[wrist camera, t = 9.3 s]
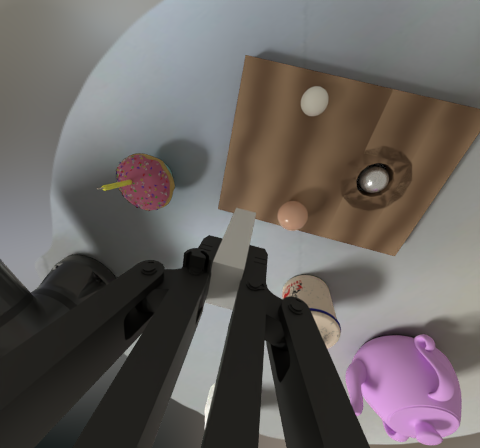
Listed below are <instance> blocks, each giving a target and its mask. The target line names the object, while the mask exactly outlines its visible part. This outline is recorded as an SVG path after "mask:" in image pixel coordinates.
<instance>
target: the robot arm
mask: <svg viewBox="0 0 480 448" xmlns="http://www.w3.org/2000/svg"><path fill="white" fill-rule="evenodd" d="M255 217H256V213H255V212H251V211H247V210H243V209H239V208H236V209H235V212H234V214H233V216H232V219H231V221H230V223H229V226H228V228H227V230H226V232H225V235H224V237H223V239H222V238H218V237H214V236H210V235H209V236H207V237H206V238H204V239H203V241H202V242H201V244H200V246H199V247H198V248H193V249H189V250H187V251H186V252H185V253H184V260H183V267H182V268H181V269H174V270H171V269H164V266H163V264H161V263H160V262H158V261H154V260H147V261H143V262H140V263H138V264H137V265H135V266H134V267H132V268H131V269H129V270H128V271H127V272H125V273H124V274H122V275H121V276H119V277H118V278H115V276H114V275H113V274H112V273H111V271H110V270H109V269H107V268H106V267H105V266H104V265H102V264H101V263H99V262H98V261H96V260H94V259H92V258H89V257H86V256H82V255H71V256H68V257H66V258H64V259H63V260H61V261H60V262H58V263H57V264H56V265H55V266H54V267H53V268H52V270H51V271H50V273H49V274H48V275H47V276H46V278H45V279H44V280H43V281H42V283H41V284H40V285H39V287H38V288H37V289H35V290H34V291H33V292H31V293H30V292H29V291H28V290H27V288H26V287H25V286H24V285H23V284H22V283H21V282H20V281H19V280H18V279H17V278H16V276H15V275H14V274H13V273H12V272H11V271H10V270H9V269H8V267H7V266H6V265H5V264H4V263H3V262H2V261H1V259H0V448H34V447H35V446H36V445H37V444H38V443H39V442H40V441H41V440H42V439H43V438H44V436H45V435H46V434H47V433H48V432H49V431H50V430H51V429H52V428H53V427H54V426H55V425H56V424H57V423H58V422H59V421H60V420H61V419H62V417H63V416H64V415H65V414H66V413H67V412H68V411H69V410H70V409H71V408H72V407H73V406H74V405H75V404H76V403H77V402H78V401H79V399H80V398H81V397H82V396H83V395H84V394H85V393H86V392H87V391H88V390H89V389H90V388H91V387H92V385H94V384H95V382H96V381H97V380H98V379H99V378H100V377H101V376H102V375H103V374H104V373H105V372H106V371H107V370H108V369H109V368H110V367H111V366H112V365H113V364H114V362H115V361H116V360H117V359H118V358H119V357H120V356H121V355H122V354H123V353H124V352H125V351H126V350H127V349H128V348H129V347H130V346H131V344H132V343H133V342H134V341H135V340H136V339H137V338H138V337H139V336H140V335H141V334H142V335H141V336H140V338H139V339H138V341H137V343H136V344H135V346H134V348H133V349H132V351H131V353H130V354H129V356H128V357H127V359H126V361H125V363H124V364H123V366H122V367H121V369H120V371H119V372H118V374H117V376H116V377H115V379H114V380H113V382H112V384H111V386H110V387H109V389H108V390H107V392H106V394H105V395H104V397H103V398H102V400H101V402H100V404H99V405H98V407H97V408H96V410H95V412H94V413H93V415H92V417H91V418H90V420H89V421H88V423H87V425H86V426H85V428H84V430H83V431H82V433H81V435H80V436H79V438H78V439H77V441H76V443H75V445H74V446H73V448H152V446H153V443H154V440H155V437H156V435H157V432H158V430H159V427H160V424H161V422H162V419H163V416H164V414H165V411H166V408H167V406H168V403H169V400H170V397H171V395H172V392H173V389H174V387H175V384H176V381H177V379H178V376H179V373H180V371H181V368H182V365H183V363H184V360H185V357H186V355H187V352H188V349H189V347H190V344H191V341H192V339H193V336H194V333H195V331H196V328H197V325H198V322H199V320H200V317H201V314H202V312H203V307H204V303H208V304H212V305H216V306H219V307H223V308H227V309H231V310H233V312H232V315H231V319H230V323H229V326H228V332H227V336H226V341H225V345H224V349H223V354H222V358H221V362H220V367H219V371H218V375H217V380H216V384H215V388H214V392H213V397H212V401H211V405H210V410H209V414H208V418H207V423H206V427H205V431H204V436H203V440H202V444H201V448H258V439H259V423H260V406H261V390H262V373H263V357H264V340H266V344H267V349H268V354H269V360H270V365H271V370H272V375H273V380H274V385H275V390H276V396H277V401H278V406H279V411H280V416H281V421H282V426H283V432H284V437H285V442H286V447H287V448H370V447H369V444H368V442H367V440H366V437H365V435H364V433H363V430H362V428H361V426H360V423H359V421H358V419H357V417H356V414H355V412H354V410H353V407H352V405H351V403H350V400H349V398H348V396H347V393H346V391H345V389H344V387H343V384H342V382H341V380H340V377H339V375H338V373H337V370H336V368H335V366H334V363H333V361H332V359H331V357H330V354H329V352H328V350H327V347H326V345H325V343H324V340H323V338H322V336H321V333H320V331H319V329H318V327H317V324H316V322H315V320H314V317H313V315H312V313H311V310H310V308H309V307H308V305H307V304H306V303H305V302H304V301H303V300H301V299H299V298H297V297H293V296H289V297H285V298H284V299H283V300H282V299H281V298H279V297H277V296H275V295H274V294H272V293H271V292H270V291H269V289H268V288H267V285H266V272H267V258H268V254H267V252H266V250H265V249H263V248H259V247H255V246H251V245H250V240H251V236H252V231H253V226H254V221H255ZM205 300H206V302H205Z"/></svg>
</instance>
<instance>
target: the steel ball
mask: <svg viewBox="0 0 480 448" xmlns="http://www.w3.org/2000/svg"><path fill="white" fill-rule="evenodd" d="M388 182H389V175H388V172H387V171H386V170H385V169H384V168H382V167H378V166H374V167H369V168H367V169H366V170H364V171H363V172H362V173H361V175H360V177H359V184H360V187H361V188H362V189H363V190H364V191H366V192H370V193H375V192H379V191H381V190H383V189H384V188H385V187H386V186H387V184H388Z"/></svg>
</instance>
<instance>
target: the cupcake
mask: <svg viewBox="0 0 480 448" xmlns="http://www.w3.org/2000/svg"><path fill="white" fill-rule="evenodd" d="M116 175H117V176H116V179H117V183H112V184H108V185H103V186H102V187H101V188H96V189H97V190H100V189H102V190H103V191H106V190H110V189H114V188H118V187H119V190H121V193H122V194H123V197H125V199H127V201H128V202H130V203H132V204H133V205H135V206H136V207H137V208H141V209H144V210H149V211H150V210H156V209H157V210H158V209H159V208H162V207H164V206H166V205H167V204H168V203H169V202H170V200H171V198H172V194H173V191H174V188H175V184H174V180H173V175H172V172H171V170H170V169H169V167H168V166H167V165H166V164H164V162H163V161H162V160H160V159H158V158H155V157H153V156H150V155H147V154H133V155H131V156H128V157H127V158H125V159H124V160H123V161H122V162H121V163H120V164H119V166H118V167H117V171H116Z"/></svg>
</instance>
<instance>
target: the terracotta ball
mask: <svg viewBox="0 0 480 448" xmlns="http://www.w3.org/2000/svg"><path fill="white" fill-rule="evenodd" d="M277 217H278V221H279V223H280V225H281V226H282V227H283V228H285V229H287V230H290V231H295V230H298V229H301V228H302V227H303V226H304V225H305V224H306V222H307V220H308V212H307V209H306V207H305V206H304V205H303V204H302V203H300V202H297V201H288V202H286V203H284V204H283V205H282V206H281V207H280V208H279V210H278V214H277Z"/></svg>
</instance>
